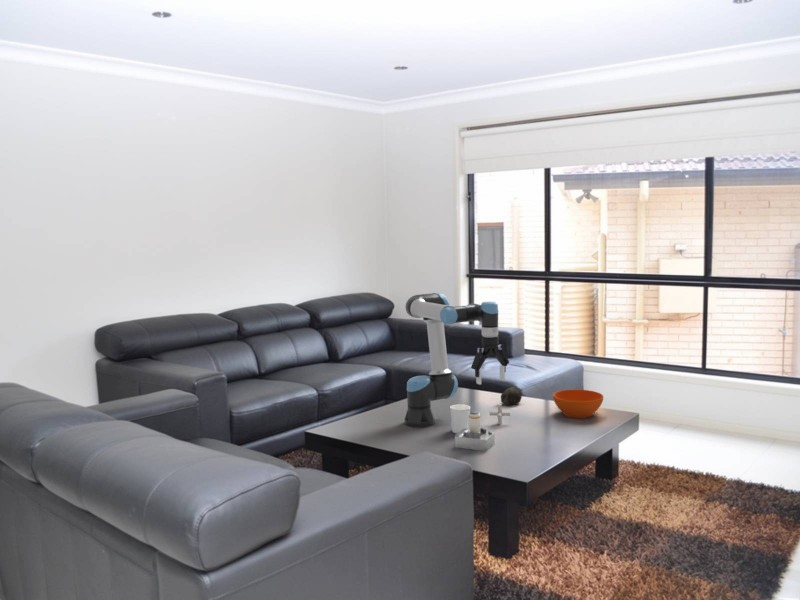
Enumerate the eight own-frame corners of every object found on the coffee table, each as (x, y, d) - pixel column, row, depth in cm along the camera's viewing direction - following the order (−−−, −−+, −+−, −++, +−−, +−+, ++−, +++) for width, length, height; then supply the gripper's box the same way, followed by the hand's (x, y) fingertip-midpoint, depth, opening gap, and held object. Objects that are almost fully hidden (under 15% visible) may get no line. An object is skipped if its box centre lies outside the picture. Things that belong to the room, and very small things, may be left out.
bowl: (585, 405, 388) (585, 387, 387) (613, 417, 364) (613, 398, 363) (544, 411, 380) (543, 392, 379) (569, 423, 356) (569, 403, 355)
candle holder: (457, 435, 343) (456, 410, 341) (446, 430, 351) (446, 406, 350) (474, 432, 347) (474, 407, 346) (463, 426, 356) (463, 403, 355)
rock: (497, 403, 394) (499, 385, 393) (506, 401, 403) (508, 384, 402) (513, 407, 388) (516, 389, 387) (522, 405, 397) (525, 388, 397)
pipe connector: (509, 427, 353) (509, 407, 352) (489, 426, 355) (488, 406, 354) (510, 421, 363) (510, 401, 362) (490, 420, 365) (490, 401, 364)
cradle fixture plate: (455, 447, 326) (454, 432, 325) (463, 440, 335) (463, 425, 335) (486, 451, 319) (486, 435, 318) (494, 443, 329) (494, 428, 328)
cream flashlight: (474, 437, 323) (473, 414, 322) (466, 434, 327) (466, 412, 326) (483, 435, 326) (482, 412, 325) (475, 432, 330) (475, 410, 329)
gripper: (473, 340, 318) (473, 387, 321) (516, 333, 331) (517, 379, 334) (462, 338, 325) (463, 384, 327) (506, 331, 338) (506, 376, 340)
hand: (490, 381), depth 331 cm, fingers open, 13 cm apart
